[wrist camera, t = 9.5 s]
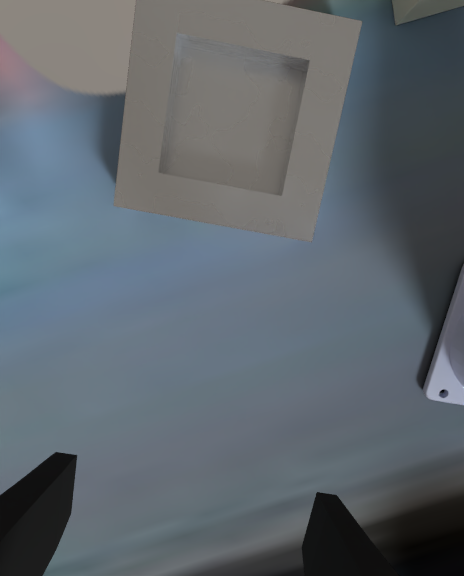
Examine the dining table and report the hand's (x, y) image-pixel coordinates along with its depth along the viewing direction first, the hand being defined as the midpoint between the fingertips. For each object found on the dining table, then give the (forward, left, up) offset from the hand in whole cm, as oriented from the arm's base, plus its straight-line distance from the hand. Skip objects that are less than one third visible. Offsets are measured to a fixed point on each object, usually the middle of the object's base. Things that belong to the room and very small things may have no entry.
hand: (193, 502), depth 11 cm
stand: (+1, -12, -10) cm, 16 cm away
